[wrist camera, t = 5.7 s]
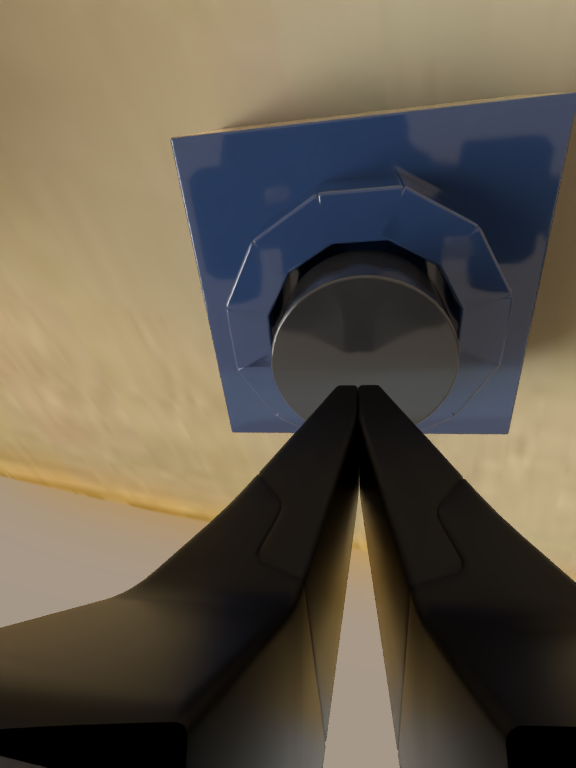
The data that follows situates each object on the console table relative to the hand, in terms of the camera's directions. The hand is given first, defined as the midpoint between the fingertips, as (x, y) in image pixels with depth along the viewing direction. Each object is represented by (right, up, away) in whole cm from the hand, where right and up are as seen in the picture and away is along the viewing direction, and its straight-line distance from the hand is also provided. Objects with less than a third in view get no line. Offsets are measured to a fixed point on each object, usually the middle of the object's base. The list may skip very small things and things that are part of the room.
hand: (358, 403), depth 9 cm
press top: (+1, +2, +3) cm, 4 cm away
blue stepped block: (+1, +5, +9) cm, 10 cm away
